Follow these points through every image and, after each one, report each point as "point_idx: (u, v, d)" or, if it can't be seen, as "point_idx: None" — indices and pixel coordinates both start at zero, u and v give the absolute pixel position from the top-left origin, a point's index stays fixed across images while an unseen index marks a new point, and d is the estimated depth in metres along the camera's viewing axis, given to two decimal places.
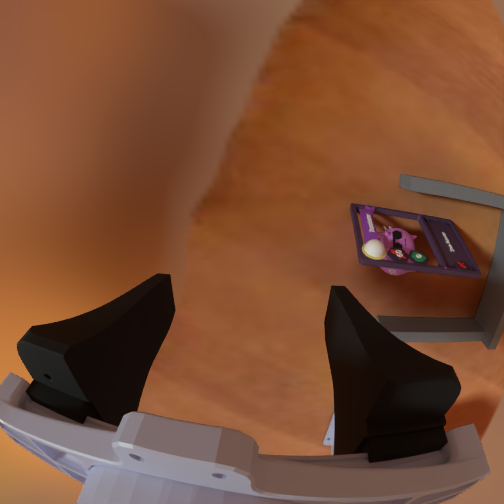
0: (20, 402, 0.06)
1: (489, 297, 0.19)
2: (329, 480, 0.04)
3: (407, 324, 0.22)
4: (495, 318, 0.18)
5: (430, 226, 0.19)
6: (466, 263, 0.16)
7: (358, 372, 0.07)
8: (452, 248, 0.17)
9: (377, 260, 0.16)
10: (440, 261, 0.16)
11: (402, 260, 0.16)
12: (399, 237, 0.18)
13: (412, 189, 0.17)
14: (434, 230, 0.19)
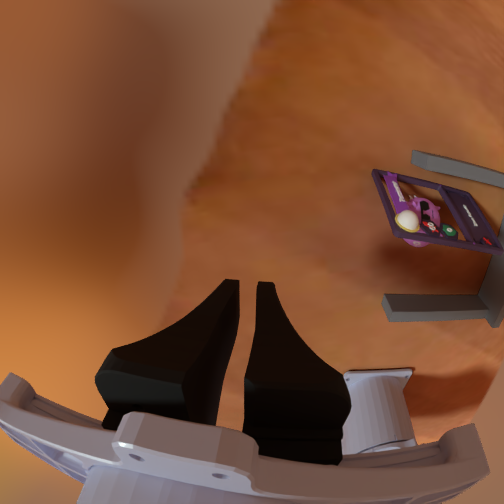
0: (20, 402, 0.06)
1: (494, 276, 0.19)
2: (329, 480, 0.04)
3: (415, 302, 0.21)
4: (500, 297, 0.18)
5: (451, 198, 0.17)
6: (489, 239, 0.14)
7: None
8: (475, 222, 0.16)
9: (412, 233, 0.14)
10: (467, 236, 0.14)
11: (435, 234, 0.14)
12: (427, 208, 0.16)
13: (428, 168, 0.16)
14: (455, 202, 0.17)
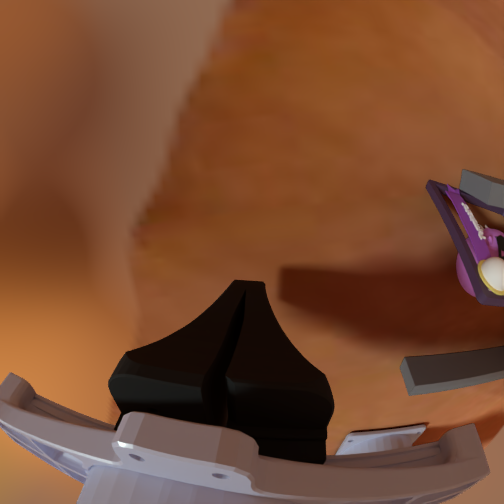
0: (20, 402, 0.06)
1: None
2: (329, 480, 0.04)
3: (442, 367, 0.15)
4: None
5: None
6: None
7: None
8: None
9: (501, 296, 0.07)
10: None
11: None
12: None
13: (490, 202, 0.09)
14: None
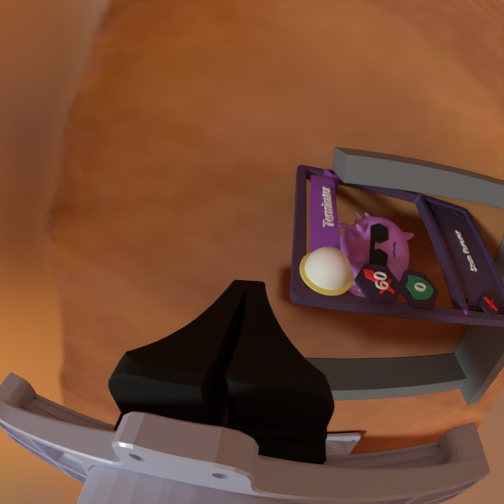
0: (20, 402, 0.06)
1: (479, 333, 0.13)
2: (329, 480, 0.04)
3: (348, 374, 0.15)
4: (483, 367, 0.12)
5: (436, 217, 0.11)
6: (494, 296, 0.08)
7: None
8: (473, 264, 0.09)
9: (330, 297, 0.07)
10: (456, 295, 0.08)
11: (386, 297, 0.07)
12: (384, 238, 0.09)
13: (349, 179, 0.10)
14: (443, 225, 0.11)
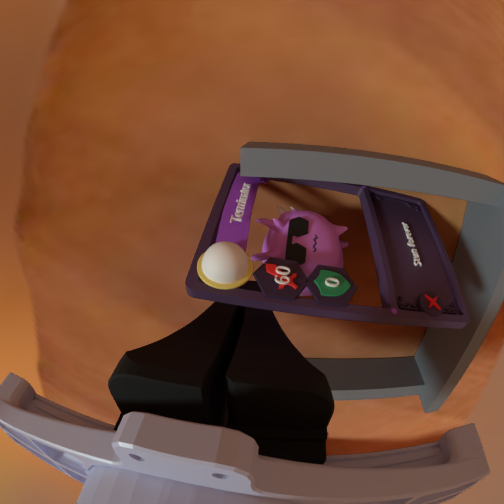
0: (20, 402, 0.06)
1: (437, 336, 0.14)
2: (329, 480, 0.04)
3: None
4: (440, 374, 0.12)
5: (381, 209, 0.11)
6: (443, 294, 0.08)
7: None
8: (419, 258, 0.09)
9: (222, 291, 0.08)
10: (385, 292, 0.08)
11: (286, 293, 0.08)
12: (303, 232, 0.09)
13: (245, 173, 0.10)
14: (387, 217, 0.11)
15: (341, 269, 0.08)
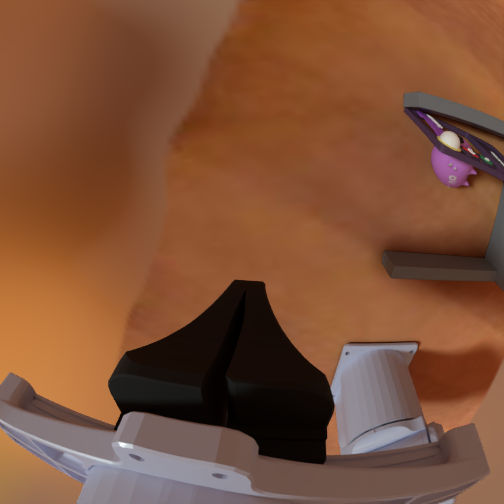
0: (20, 402, 0.06)
1: (500, 234, 0.18)
2: (329, 480, 0.04)
3: (418, 259, 0.20)
4: None
5: (479, 144, 0.15)
6: None
7: None
8: None
9: (456, 151, 0.12)
10: (502, 171, 0.12)
11: (476, 158, 0.12)
12: (462, 141, 0.14)
13: (420, 105, 0.14)
14: (484, 148, 0.15)
15: (485, 157, 0.12)
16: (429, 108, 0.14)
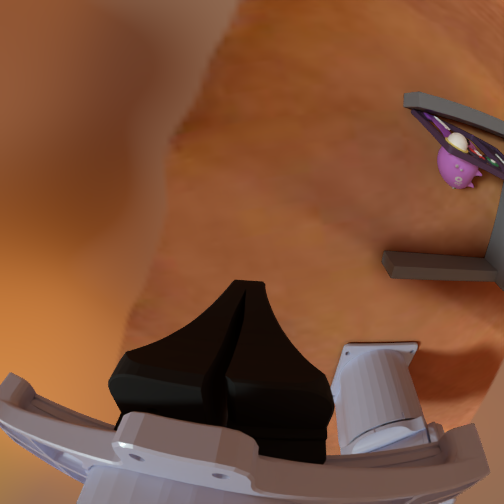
0: (20, 402, 0.06)
1: (500, 234, 0.18)
2: (329, 480, 0.04)
3: (418, 259, 0.20)
4: None
5: None
6: None
7: None
8: None
9: (463, 152, 0.12)
10: None
11: (482, 160, 0.12)
12: (468, 143, 0.14)
13: (420, 105, 0.14)
14: (488, 150, 0.15)
15: (491, 159, 0.12)
16: (429, 108, 0.14)
